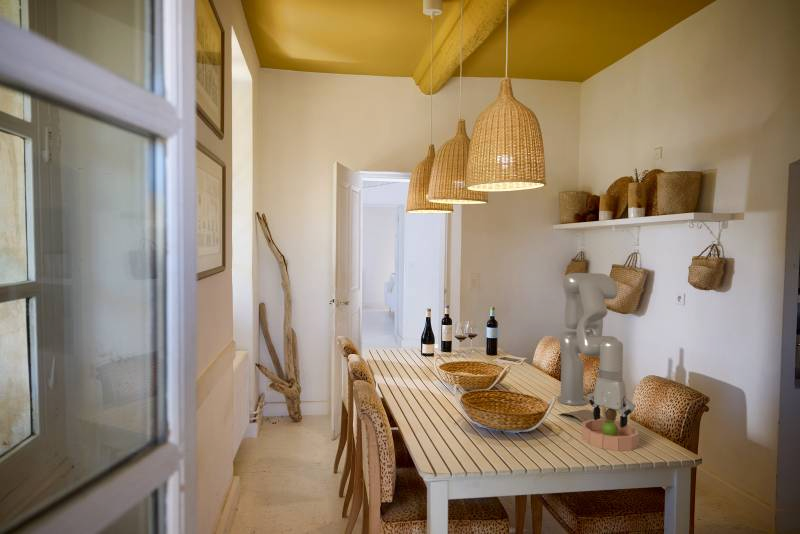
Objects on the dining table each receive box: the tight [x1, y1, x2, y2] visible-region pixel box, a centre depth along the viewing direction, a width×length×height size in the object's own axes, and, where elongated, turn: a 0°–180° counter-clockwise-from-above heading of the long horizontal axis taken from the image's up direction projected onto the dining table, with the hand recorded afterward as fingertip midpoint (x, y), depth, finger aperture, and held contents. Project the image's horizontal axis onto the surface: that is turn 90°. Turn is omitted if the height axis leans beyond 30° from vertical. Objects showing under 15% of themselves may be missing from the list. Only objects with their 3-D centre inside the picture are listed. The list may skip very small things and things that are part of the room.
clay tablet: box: [558, 408, 604, 423], centre depth 201 cm, size 16×11×3 cm
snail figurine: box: [601, 405, 618, 436], centre depth 178 cm, size 5×6×12 cm
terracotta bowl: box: [581, 419, 640, 452], centre depth 177 cm, size 18×18×4 cm
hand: (609, 422), depth 177 cm, fingers open, 9 cm apart
